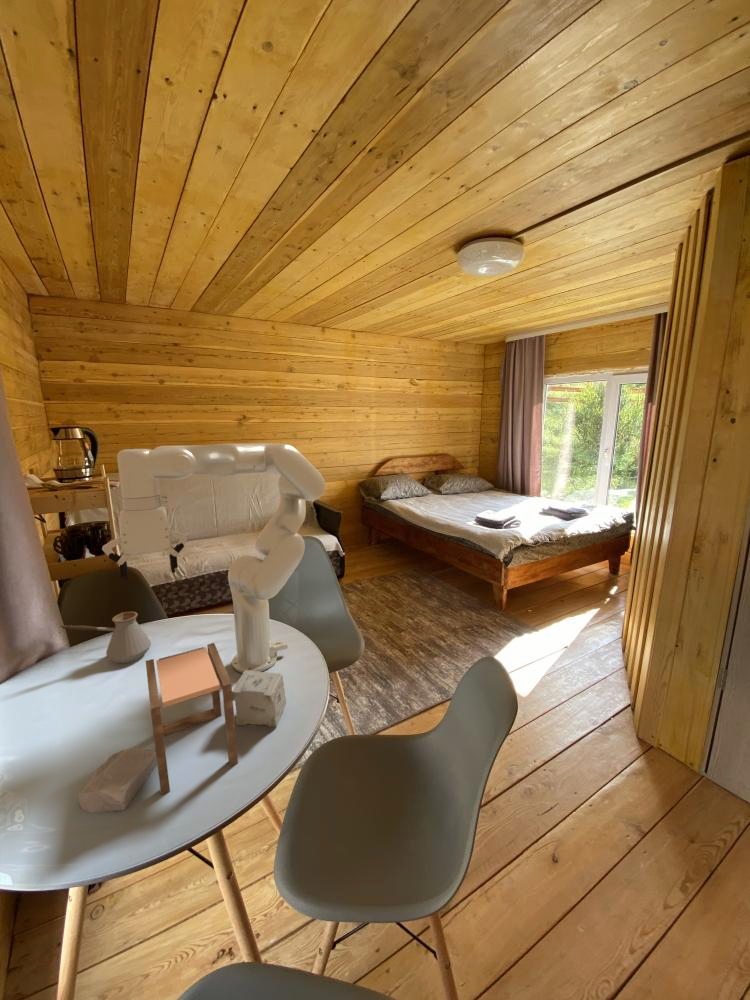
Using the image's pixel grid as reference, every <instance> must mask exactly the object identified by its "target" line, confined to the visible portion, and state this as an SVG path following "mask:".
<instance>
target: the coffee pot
mask: <svg viewBox="0 0 750 1000" xmlns="http://www.w3.org/2000/svg"><path fill="white" fill-rule="evenodd" d="M138 616H139V615H138V613H137V612H136V611H125V612H124V611H122V612H121V613H119V614H116V615H115V616H113V617H112V618H111V620H112V623H114V624H115V625H114V627H103V626H99V627H98V626H92V625H72V624H69V625H59V629H58V634H60V633H61V631H62V629H68V630H78V631H104V632H106V631H107V632H112V634H111V637H110V639H109V643H108V646H107V648H106V657H107V658H108V659H109V660H111V661H112V662H115V663H116V664H129V663H133V662H136V661H138V660H140V659H141V658H142V657H144V656H145V654H146V653H147V652H148V651H149V649H150V647H151V645H152V641H151V639H150V638H149V637H148V635H147V634H146V633H145V631H144V630H143V629H142V627H141V626H140V624H139V623H138V621H137V617H138Z"/></svg>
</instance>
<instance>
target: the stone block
mask: <svg viewBox="0 0 750 1000" xmlns="http://www.w3.org/2000/svg"><path fill="white" fill-rule="evenodd" d="M156 766H157V758H156V750H155V749H148V748H132V747H131V748H126V749H121V750H119V751H118V752H115V753H113V754H112V755H110V756H109V757H108V758H107V760H106V761H105V762H104V763H103V764H101V766H100V767H99V768H98V769H97V770H96V771H95V773H94V774H93V776H92V777H91V778H90V779H88V781H87V783H86V784H85V786H83V788H82V789H81V790H80V792H79V793H78V804H79V806H80V808H81V810H82V811H85V812H89V813H97V812H98V813H99V812H115V811H119V812H123V811H125V810H126V809H127V808H128V806H129V805H130V804H131V802H132V801H133V799H135V796H136V795H137V793H138V792H139V791H140V789H141V787H142V786H143V785H144V783H145V782H146V780H147V778H148V777H149V776H150V774H152V772H153V771H154V769H155V767H156Z"/></svg>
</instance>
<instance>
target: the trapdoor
mask: <svg viewBox="0 0 750 1000" xmlns="http://www.w3.org/2000/svg"><path fill="white" fill-rule="evenodd" d="M206 647H207V646H205V647H204V646H203V647H198V648H195V649H191V650H187V651H184V652H183V651H182V652H180V653H175V654H172V655H168V656H165V657H160V658H158V659H156V669H157V675H158V682H159V687H160V696H161V701H162V708H166V707H169V706H172V705H175V704H178V703H182V702H184V701H187V700H191V699H194V698H197V697H200V696H204V695H206V694H209V693H212V692H213V691H216V690H219V691H220V690H221V684H220V681H219V679H217V676H216V673H215V671H214V668H213V665H212V663H211V660H210V657H209V655H208V648H206Z"/></svg>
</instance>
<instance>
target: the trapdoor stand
mask: <svg viewBox="0 0 750 1000" xmlns="http://www.w3.org/2000/svg"><path fill="white" fill-rule="evenodd" d="M206 645H207V646H206V647H207V648H206V649H207V652H208V655H209V657H210V660H211V663H212V665H213V668H214V671H215V673H216V676H217V679H218V681H219V684H220V687H221V690H222V698H223V711H224V722H225V724H224V725H225V735H226V744H227V746H226V747H227V757H228V758H227V759H228V764H229V767H233V766H235V765H237V764H238V763H239V761H238V760H239V759H238V746H237V736H236V723H235V713H234V712H235V711H234V710H235V709H234V701H233V697H232V691H233V686H232V682H231V679H230V677H229V675H228V673H227V670H226V668H225V665H224V663H223V661H222V658H221V655H220V653H219V651H218V649H217V648H218V647H217V646H216V644H215V643H214V642H212V643H207V644H206ZM145 667H146V676H147V678H146V679H147V688H148V689H147V690H148V696H149V705H150V707H149V708H150V715H151V725H152V732H153V741H154V750H155V751H156V758H157V764H156V766H157V771H158V783H159V788H160V789H159V790H160V795H161V796H163V795H165V794H167V793H169V792H171V789H170V780H169V779H170V778H169V773H168V772H169V770H168V762H167V756H166V755H167V754H166V747H165V745H166V744H165V738H164V736H167V735H169V734H172V733H175V732H179V731H181V730H184V729H186V728H189V727H193V726H195V725H198V724H201V723H204V722H207V721H209V720H212V719H215V718H218V717H220V716H222V708H221V707H222V705H221V695H220V689H219V690H216V691H213V692H211V699H212V708H210V709H207V710H205V711H201V712H198V713H196V714H193V715H190V716H186V717H184V718H181V719H177V720H175V721H172V722H169V723H165V724H163V722H162V721H163V720H162V713H161V703H160V699H159V698H160V697H159V691H158V690H159V689H158V682H157V674H156V668H155V661H154V658H152V659H148V660H145Z"/></svg>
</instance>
